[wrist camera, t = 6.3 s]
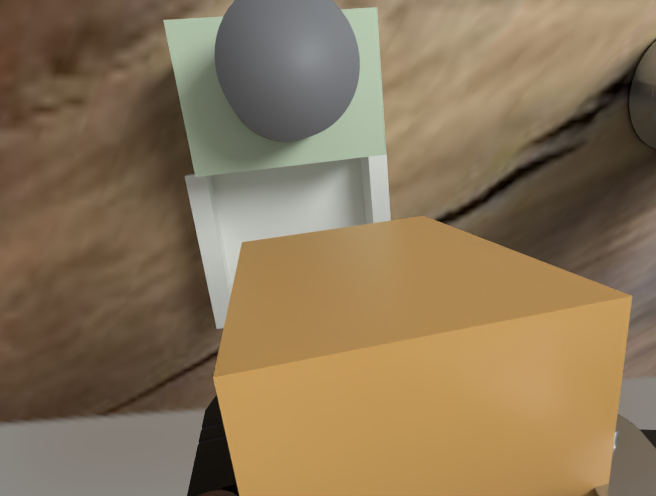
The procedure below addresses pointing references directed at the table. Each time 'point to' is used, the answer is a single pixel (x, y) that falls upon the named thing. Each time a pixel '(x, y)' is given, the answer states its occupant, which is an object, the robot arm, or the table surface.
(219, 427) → the robot arm
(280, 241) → the tall mustard block
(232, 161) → the green stand
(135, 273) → the table surface
